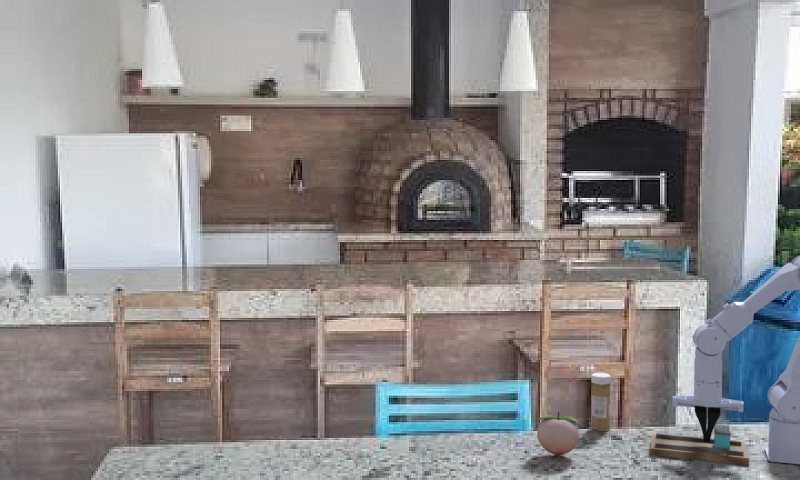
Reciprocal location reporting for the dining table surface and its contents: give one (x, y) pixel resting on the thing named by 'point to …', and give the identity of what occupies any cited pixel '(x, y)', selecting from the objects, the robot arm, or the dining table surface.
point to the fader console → (697, 449)
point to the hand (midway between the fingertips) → (706, 440)
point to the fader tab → (722, 436)
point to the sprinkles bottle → (601, 401)
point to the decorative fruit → (558, 434)
